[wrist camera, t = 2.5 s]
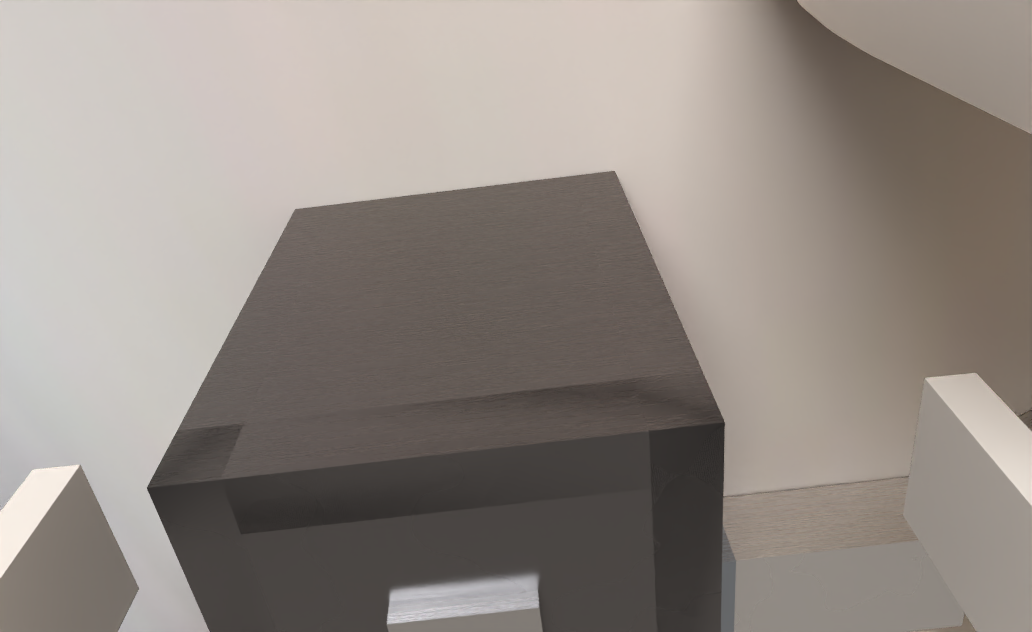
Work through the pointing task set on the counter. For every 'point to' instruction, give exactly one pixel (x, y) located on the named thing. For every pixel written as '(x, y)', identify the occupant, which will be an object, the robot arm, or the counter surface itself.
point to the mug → (947, 46)
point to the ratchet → (830, 562)
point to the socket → (454, 428)
